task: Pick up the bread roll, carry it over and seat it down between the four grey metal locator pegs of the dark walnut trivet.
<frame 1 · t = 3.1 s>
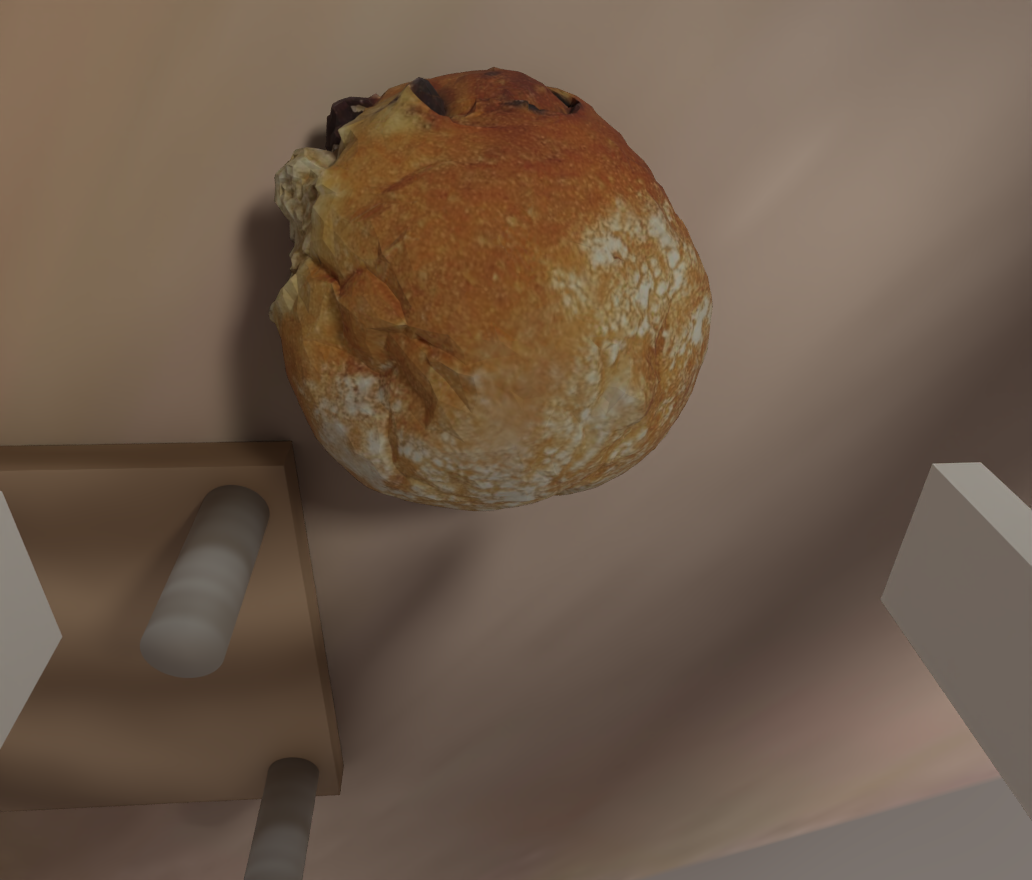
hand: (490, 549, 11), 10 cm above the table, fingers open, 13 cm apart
trivet: (89, 637, 25), on the table
bread roll: (480, 275, 20), on the table
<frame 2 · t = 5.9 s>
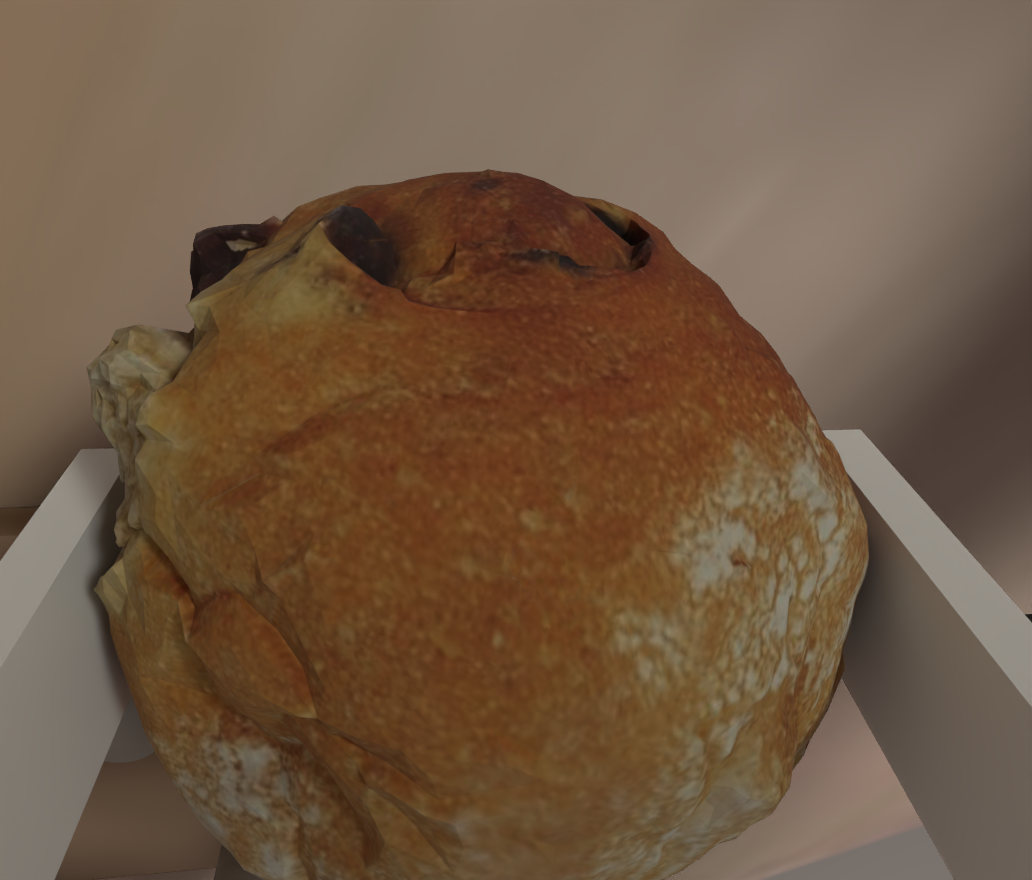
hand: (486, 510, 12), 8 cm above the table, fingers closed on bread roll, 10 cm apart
trivet: (25, 707, 24), on the table
bread roll: (469, 465, 12), point 7 cm above the table, touching gripper
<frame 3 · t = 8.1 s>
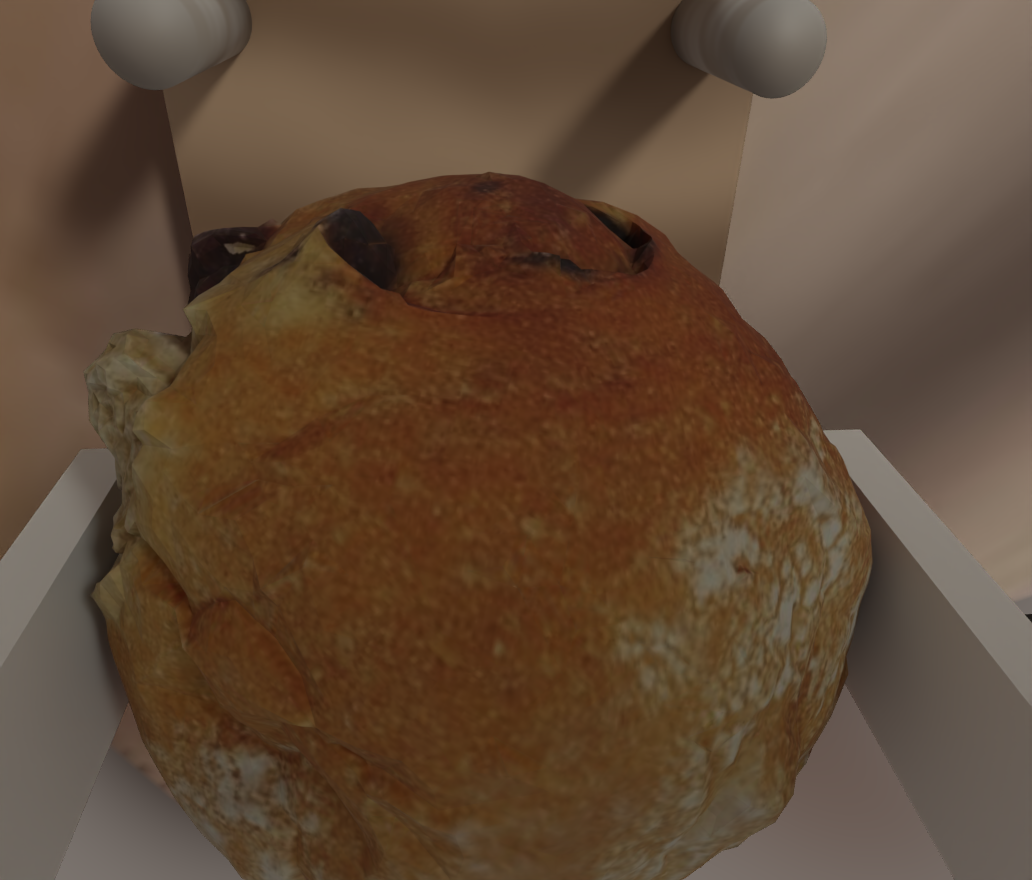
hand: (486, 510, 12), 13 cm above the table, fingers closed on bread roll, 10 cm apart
trivet: (467, 247, 23), on the table
bread roll: (469, 469, 12), point 12 cm above the table, touching gripper
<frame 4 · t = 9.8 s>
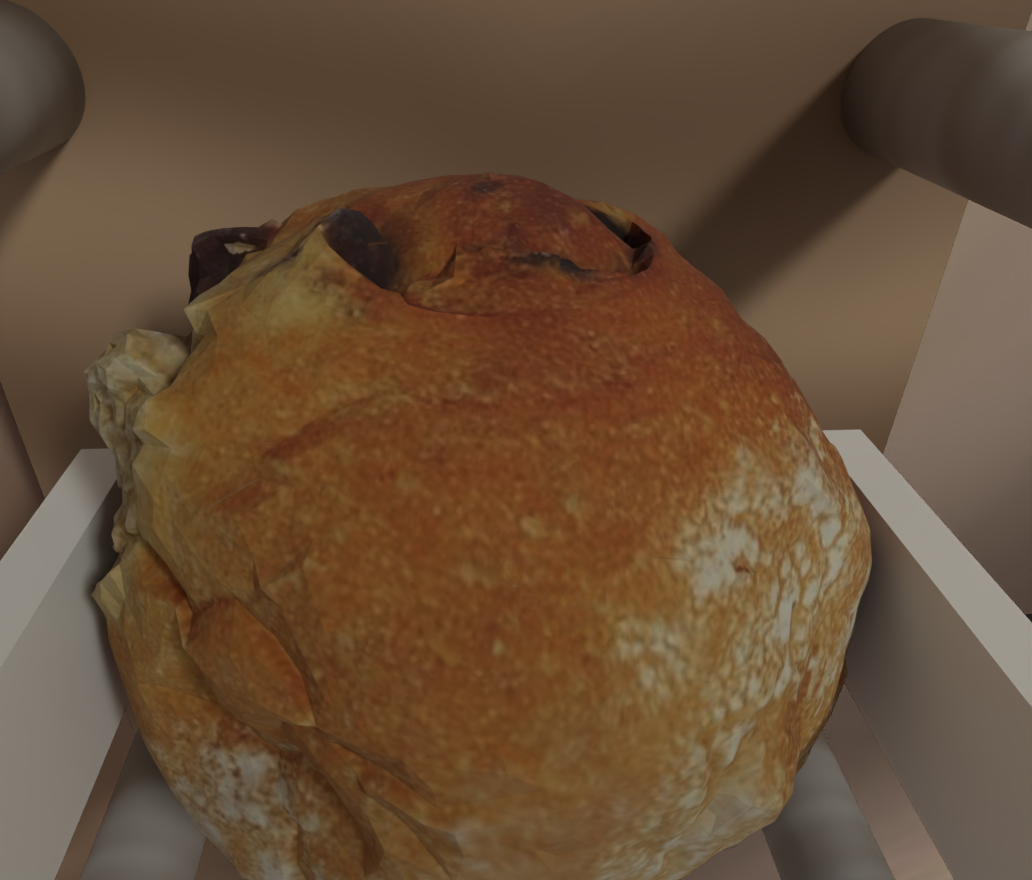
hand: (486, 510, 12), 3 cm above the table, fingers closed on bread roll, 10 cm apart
trivet: (476, 421, 14), on the table
bread roll: (469, 469, 12), point 2 cm above the table, touching gripper
when the fingers open (3 cm above the table, at t = 10.7 s): bread roll drops 1 cm, resting on trivet.
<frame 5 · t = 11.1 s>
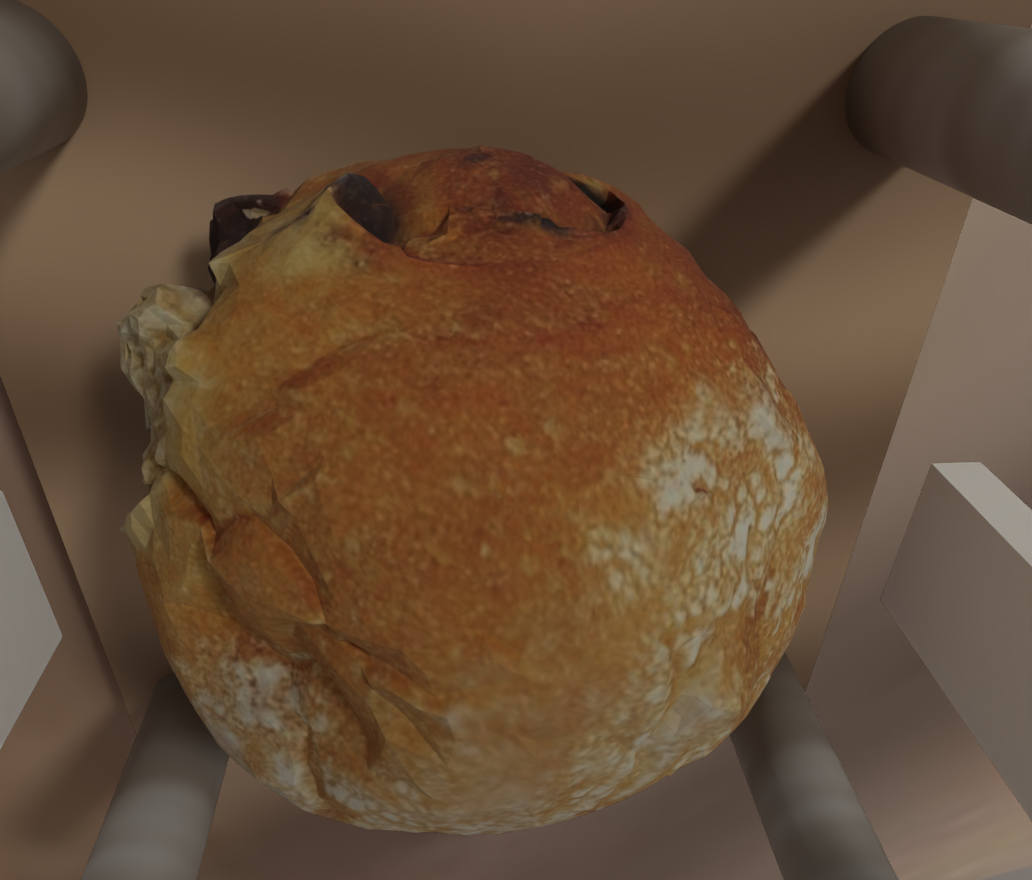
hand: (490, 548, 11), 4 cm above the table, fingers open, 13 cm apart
trivet: (479, 420, 14), on the table
bread roll: (463, 428, 13), point 1 cm above the table, touching trivet
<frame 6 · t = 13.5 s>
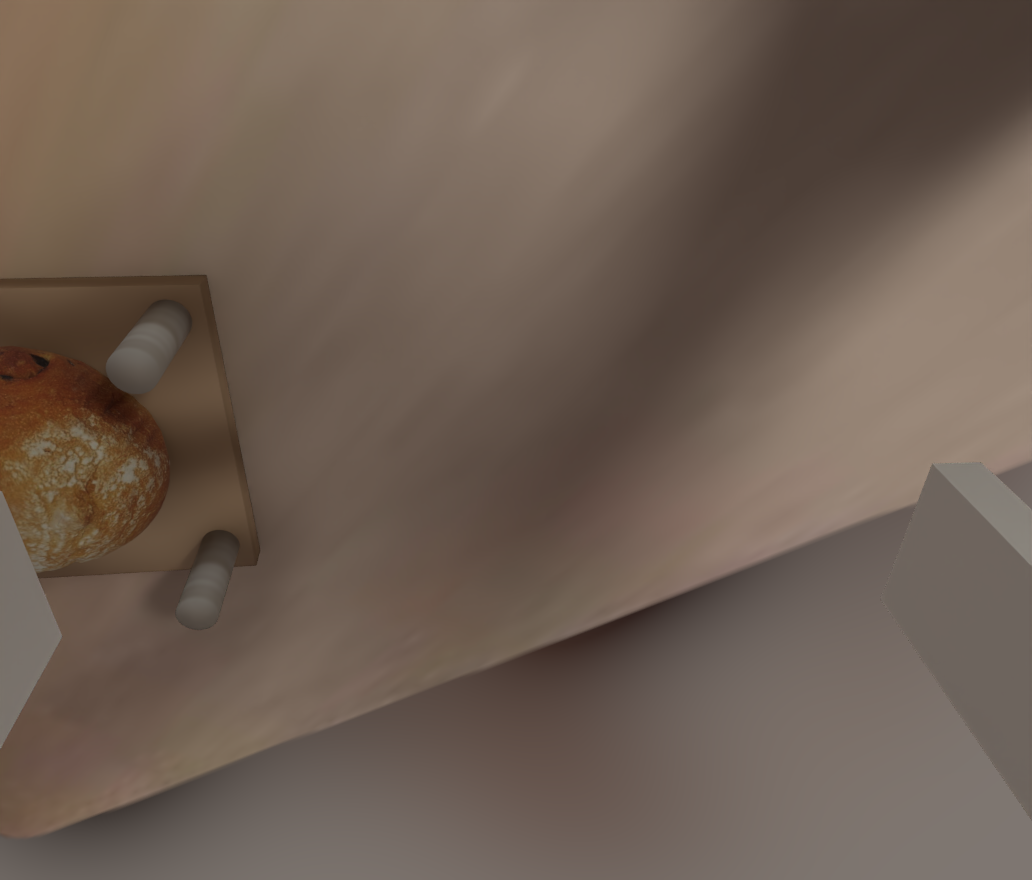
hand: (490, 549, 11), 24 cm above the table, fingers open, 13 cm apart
trivet: (69, 434, 36), on the table
bread roll: (50, 436, 34), point 1 cm above the table, touching trivet
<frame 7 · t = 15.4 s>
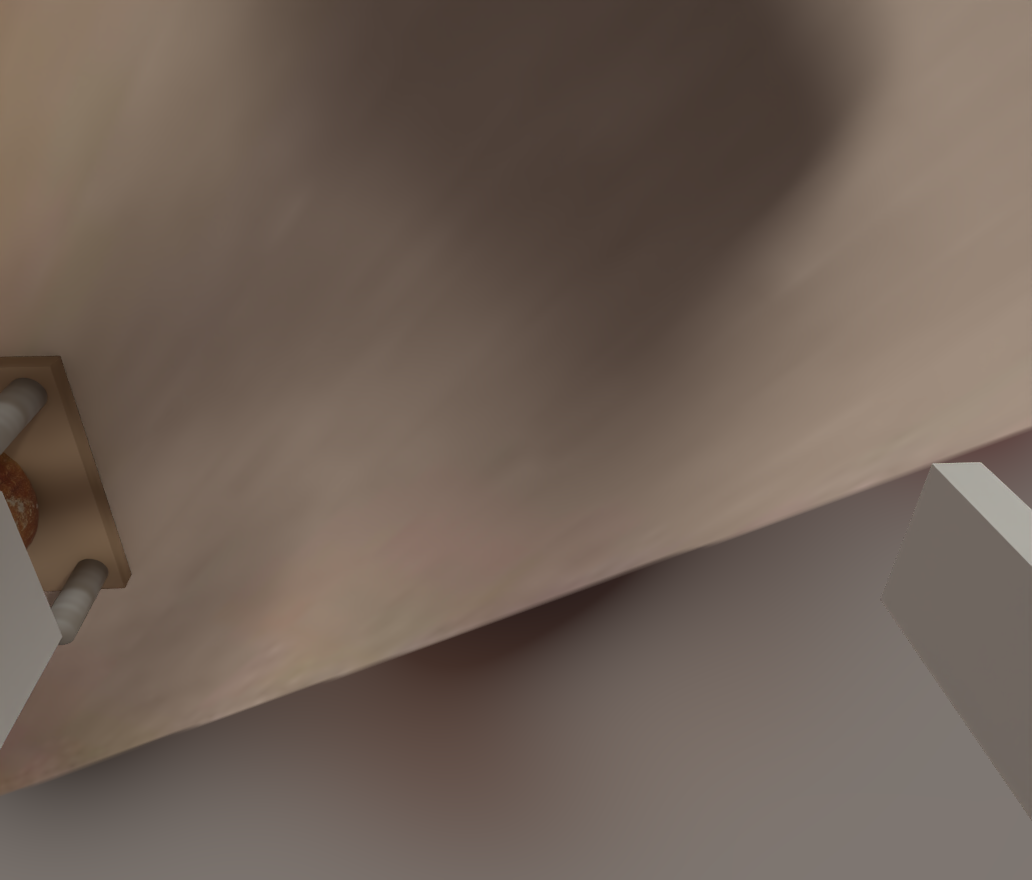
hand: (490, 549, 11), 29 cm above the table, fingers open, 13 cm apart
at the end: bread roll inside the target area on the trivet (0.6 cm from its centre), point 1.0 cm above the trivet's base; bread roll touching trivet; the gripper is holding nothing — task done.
